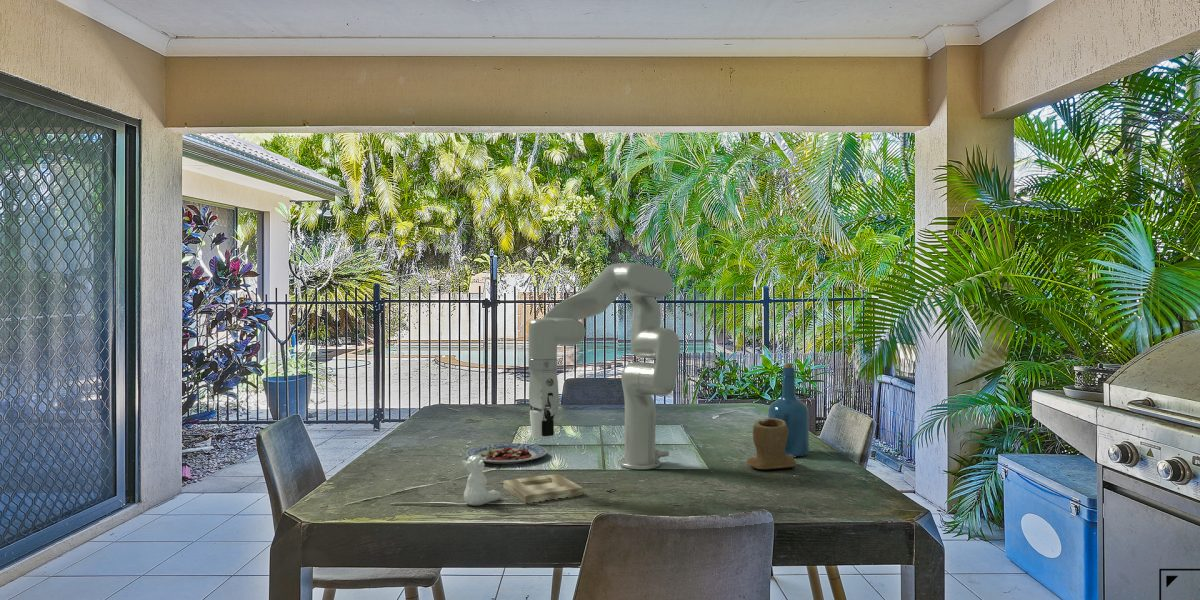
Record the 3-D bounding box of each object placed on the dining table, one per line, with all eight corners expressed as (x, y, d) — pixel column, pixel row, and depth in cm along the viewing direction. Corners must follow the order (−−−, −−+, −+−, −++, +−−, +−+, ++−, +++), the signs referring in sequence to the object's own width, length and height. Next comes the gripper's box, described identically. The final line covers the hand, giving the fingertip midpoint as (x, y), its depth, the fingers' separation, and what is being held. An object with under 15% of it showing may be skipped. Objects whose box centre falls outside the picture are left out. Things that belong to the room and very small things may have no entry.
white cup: (551, 440, 176) (551, 413, 176) (526, 439, 178) (526, 412, 178) (558, 435, 183) (558, 409, 183) (533, 434, 184) (533, 408, 184)
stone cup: (758, 474, 199) (758, 423, 199) (742, 464, 210) (742, 416, 210) (806, 472, 201) (806, 421, 201) (788, 462, 213) (788, 415, 213)
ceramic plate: (562, 455, 223) (562, 446, 223) (512, 472, 201) (512, 462, 201) (502, 446, 237) (502, 437, 237) (448, 461, 215) (449, 451, 215)
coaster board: (557, 480, 191) (557, 473, 191) (582, 495, 177) (582, 487, 177) (503, 488, 184) (503, 480, 184) (525, 503, 170) (525, 495, 170)
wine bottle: (814, 458, 219) (814, 365, 219) (773, 458, 219) (773, 365, 219) (802, 449, 233) (802, 361, 233) (763, 448, 233) (763, 361, 233)
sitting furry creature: (501, 498, 174) (501, 451, 174) (488, 508, 166) (488, 459, 166) (467, 496, 176) (467, 449, 176) (452, 505, 168) (453, 457, 168)
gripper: (569, 368, 174) (569, 438, 174) (543, 362, 190) (542, 426, 190) (542, 369, 171) (542, 440, 171) (517, 363, 186) (517, 429, 186)
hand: (542, 432), depth 180 cm, fingers closed on white cup, 6 cm apart
